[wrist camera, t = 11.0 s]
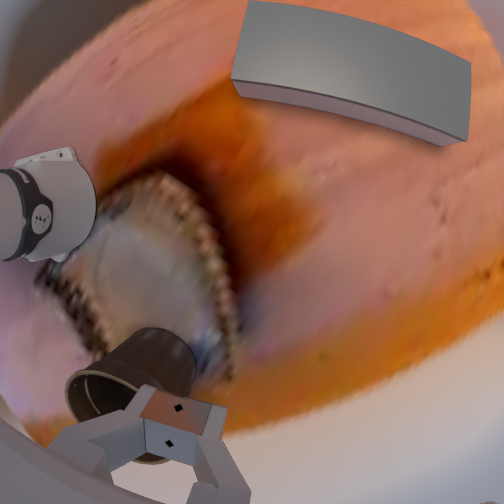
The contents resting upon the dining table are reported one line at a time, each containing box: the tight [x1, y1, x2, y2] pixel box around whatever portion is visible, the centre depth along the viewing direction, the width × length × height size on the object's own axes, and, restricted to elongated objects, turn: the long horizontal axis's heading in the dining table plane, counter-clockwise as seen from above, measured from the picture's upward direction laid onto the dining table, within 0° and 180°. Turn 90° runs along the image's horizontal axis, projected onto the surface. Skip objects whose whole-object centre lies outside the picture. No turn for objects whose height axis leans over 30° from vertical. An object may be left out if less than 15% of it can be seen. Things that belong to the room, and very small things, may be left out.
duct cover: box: [231, 0, 471, 142], centre depth 27 cm, size 28×11×1 cm, turn 79°
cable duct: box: [233, 81, 462, 146], centre depth 31 cm, size 28×11×6 cm, turn 79°
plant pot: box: [65, 328, 196, 465], centre depth 37 cm, size 16×16×16 cm
